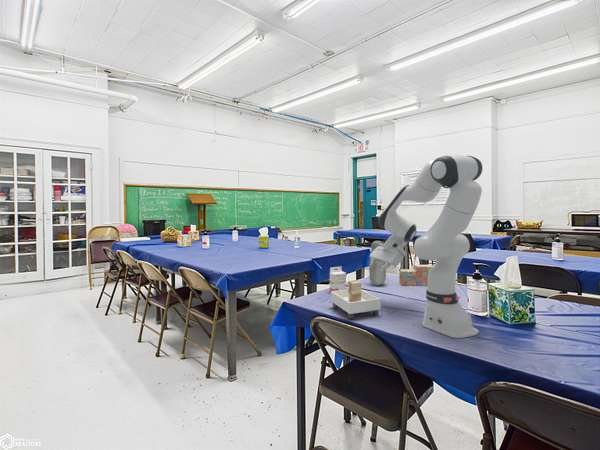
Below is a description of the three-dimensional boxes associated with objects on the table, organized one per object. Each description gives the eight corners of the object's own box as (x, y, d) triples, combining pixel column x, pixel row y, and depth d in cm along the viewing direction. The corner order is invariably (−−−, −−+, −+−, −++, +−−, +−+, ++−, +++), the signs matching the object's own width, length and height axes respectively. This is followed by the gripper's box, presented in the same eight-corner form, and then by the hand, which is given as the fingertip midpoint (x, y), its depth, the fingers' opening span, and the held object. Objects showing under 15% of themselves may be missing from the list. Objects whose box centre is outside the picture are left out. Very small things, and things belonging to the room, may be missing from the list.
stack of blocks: (401, 286, 203) (401, 266, 202) (399, 283, 209) (399, 264, 208) (437, 286, 201) (437, 266, 200) (433, 283, 207) (434, 264, 206)
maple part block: (361, 302, 157) (361, 282, 156) (352, 304, 155) (352, 283, 155) (356, 300, 161) (356, 280, 160) (348, 301, 160) (348, 281, 159)
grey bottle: (370, 282, 213) (370, 239, 211) (387, 283, 209) (387, 240, 207) (367, 286, 204) (367, 241, 202) (384, 287, 200) (384, 242, 198)
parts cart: (380, 316, 152) (380, 298, 151) (349, 321, 147) (349, 303, 146) (359, 303, 171) (359, 288, 170) (331, 307, 165) (330, 291, 165)
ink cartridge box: (333, 294, 188) (333, 269, 187) (329, 292, 192) (329, 267, 191) (346, 292, 192) (346, 267, 190) (341, 290, 196) (341, 266, 195)
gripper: (376, 241, 174) (361, 261, 171) (401, 246, 154) (383, 268, 152) (384, 248, 175) (368, 268, 173) (409, 254, 156) (392, 277, 154)
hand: (375, 268), depth 162 cm, fingers open, 8 cm apart
